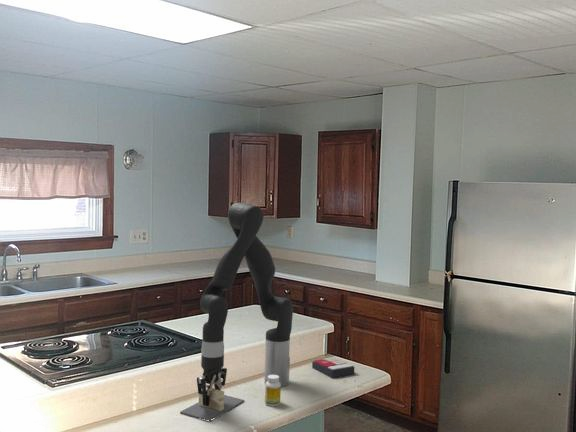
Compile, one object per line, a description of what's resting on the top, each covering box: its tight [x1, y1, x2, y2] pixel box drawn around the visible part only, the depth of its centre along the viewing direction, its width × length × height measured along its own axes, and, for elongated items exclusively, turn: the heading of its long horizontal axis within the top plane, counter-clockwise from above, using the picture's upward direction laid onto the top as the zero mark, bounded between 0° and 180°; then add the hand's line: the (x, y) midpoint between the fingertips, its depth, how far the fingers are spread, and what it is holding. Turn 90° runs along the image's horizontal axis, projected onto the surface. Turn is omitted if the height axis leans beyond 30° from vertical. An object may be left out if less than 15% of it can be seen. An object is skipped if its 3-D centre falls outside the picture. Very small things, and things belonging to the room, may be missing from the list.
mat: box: [179, 394, 245, 422], centre depth 192 cm, size 20×12×1 cm, turn 151°
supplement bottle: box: [264, 375, 282, 407], centre depth 197 cm, size 5×5×10 cm
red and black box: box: [311, 357, 355, 380], centre depth 233 cm, size 11×4×15 cm
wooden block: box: [198, 387, 225, 411], centre depth 191 cm, size 9×2×6 cm, turn 61°
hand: (211, 402), depth 191 cm, fingers open, 5 cm apart
